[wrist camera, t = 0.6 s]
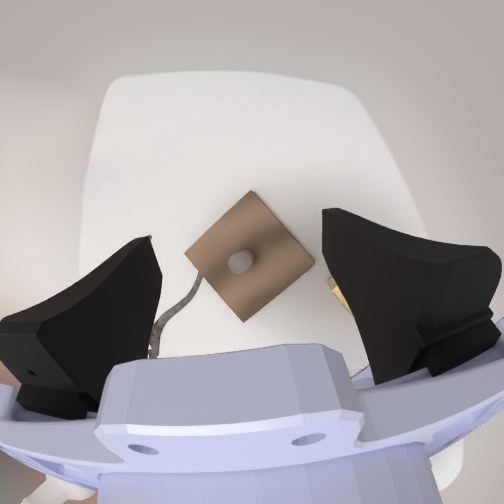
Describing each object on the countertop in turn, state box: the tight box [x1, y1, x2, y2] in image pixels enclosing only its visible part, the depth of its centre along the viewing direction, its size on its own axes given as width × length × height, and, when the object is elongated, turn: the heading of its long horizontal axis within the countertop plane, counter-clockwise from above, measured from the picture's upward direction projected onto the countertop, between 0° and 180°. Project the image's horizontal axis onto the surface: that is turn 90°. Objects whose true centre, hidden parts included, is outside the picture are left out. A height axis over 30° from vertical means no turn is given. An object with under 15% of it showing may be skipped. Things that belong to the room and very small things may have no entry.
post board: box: [184, 190, 315, 323], centre depth 30 cm, size 11×11×6 cm
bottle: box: [21, 474, 95, 504], centre depth 25 cm, size 8×8×30 cm
